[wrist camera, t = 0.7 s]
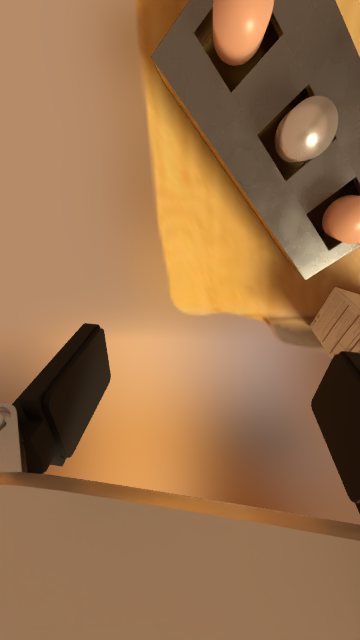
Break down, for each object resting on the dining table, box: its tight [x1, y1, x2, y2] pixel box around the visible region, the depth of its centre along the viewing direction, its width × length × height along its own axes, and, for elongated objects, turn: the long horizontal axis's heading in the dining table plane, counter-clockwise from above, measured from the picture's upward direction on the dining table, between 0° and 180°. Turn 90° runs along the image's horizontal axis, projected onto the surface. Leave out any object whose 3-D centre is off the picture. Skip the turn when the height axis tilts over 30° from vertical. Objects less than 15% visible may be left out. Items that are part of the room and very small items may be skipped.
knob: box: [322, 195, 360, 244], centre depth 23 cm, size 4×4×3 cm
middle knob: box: [275, 96, 338, 163], centre depth 20 cm, size 4×4×3 cm
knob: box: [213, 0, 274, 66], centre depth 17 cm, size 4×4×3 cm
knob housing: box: [151, 0, 360, 280], centre depth 24 cm, size 12×26×6 cm, turn 42°
